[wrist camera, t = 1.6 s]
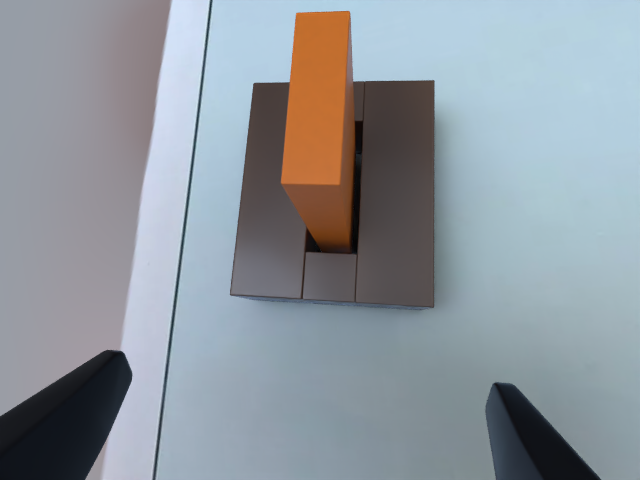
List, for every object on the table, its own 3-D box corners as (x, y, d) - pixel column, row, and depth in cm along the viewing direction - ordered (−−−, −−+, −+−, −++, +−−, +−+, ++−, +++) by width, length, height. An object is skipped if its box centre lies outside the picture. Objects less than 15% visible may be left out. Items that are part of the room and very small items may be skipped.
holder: (422, 119, 24) (434, 79, 20) (421, 309, 22) (434, 307, 18) (270, 119, 25) (253, 82, 21) (252, 299, 23) (229, 295, 19)
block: (356, 162, 24) (350, 10, 12) (352, 255, 23) (340, 185, 11) (328, 161, 24) (296, 11, 12) (322, 253, 23) (280, 183, 11)
